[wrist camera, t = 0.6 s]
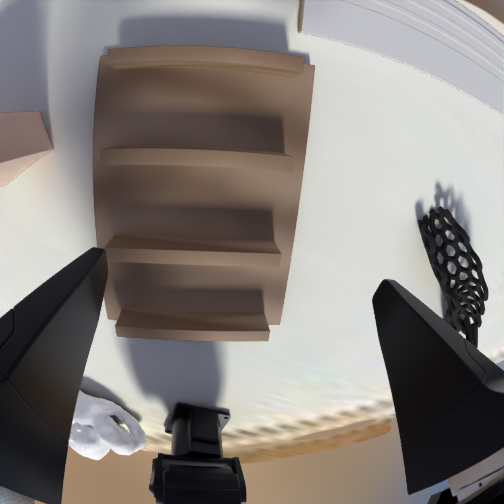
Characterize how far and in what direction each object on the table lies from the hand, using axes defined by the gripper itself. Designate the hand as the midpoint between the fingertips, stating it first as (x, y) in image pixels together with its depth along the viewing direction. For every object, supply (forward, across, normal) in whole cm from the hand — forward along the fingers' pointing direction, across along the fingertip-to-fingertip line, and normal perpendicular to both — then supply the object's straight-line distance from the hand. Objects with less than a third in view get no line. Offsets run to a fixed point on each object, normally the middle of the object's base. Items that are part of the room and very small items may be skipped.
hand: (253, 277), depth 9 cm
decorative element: (+12, -26, +10) cm, 30 cm away
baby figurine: (+7, +12, +30) cm, 33 cm away
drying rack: (+13, +2, +4) cm, 14 cm away
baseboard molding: (+19, -18, -16) cm, 30 cm away
